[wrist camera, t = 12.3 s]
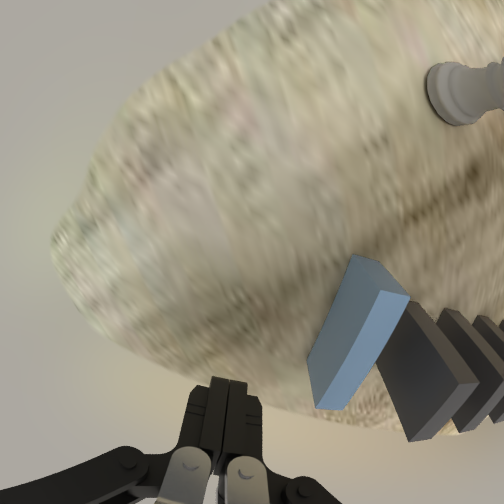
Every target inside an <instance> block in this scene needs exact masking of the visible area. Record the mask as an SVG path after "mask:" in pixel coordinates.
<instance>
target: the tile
mask: <svg viewBox="0 0 504 504" xmlns="http://www.w3.org/2000/svg"><path fill="white" fill-rule="evenodd" d="M410 298H411V297H410V296H409V294H408V293H407V292H406V291H405V290H404V289H403V288H402V286H401V285H400V284H399V283H398V282H397V281H396V280H395V279H394V277H393V276H392V275H391V274H390V273H389V272H388V271H387V270H386V269H385V268H384V266H383V265H382V264H381V263H380V262H379V261H376V260H372V259H369V258H365V257H362V256H358V255H354V254H352V257H351V260H350V262H349V265H348V268H347V270H346V273H345V275H344V278H343V280H342V283H341V285H340V287H339V290H338V292H337V295H336V297H335V299H334V302H333V304H332V306H331V309H330V311H329V313H328V316H327V318H326V320H325V322H324V324H323V327H322V329H321V331H320V333H319V335H318V338H317V340H316V342H315V344H314V346H313V348H312V350H311V352H310V354H309V356H308V358H307V365H308V371H309V376H310V382H311V387H312V393H313V399H314V404H315V408H316V409H328V410H343V409H344V407H345V406H346V405H347V403H348V402H349V401H350V399H351V398H352V396H353V395H354V393H355V392H356V390H357V389H358V388H359V386H360V385H361V383H362V382H363V380H364V379H365V377H366V376H367V374H368V372H369V371H370V369H371V368H372V366H373V365H374V363H375V361H376V360H377V358H378V356H379V355H380V353H381V351H382V350H383V348H384V346H385V345H386V343H387V341H388V339H389V338H390V336H391V334H392V332H393V330H394V329H395V327H396V325H397V323H398V321H399V319H400V317H401V316H402V314H403V312H404V310H405V308H406V306H407V304H408V302H409V300H410Z"/></svg>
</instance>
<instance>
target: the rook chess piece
mask: <svg viewBox="0 0 504 504" xmlns="http://www.w3.org/2000/svg"><path fill="white" fill-rule="evenodd" d="M427 91H428V94H429V98H430V101H431V103H432V105H433V106H434V108H435V110H436V111H437V113H438V114H439V115H440V116H441V117H442V118H443V119H444V120H445V121H446V122H448V123H450V124H453V125H455V126H460V125H467V124H473V123H475V122H476V121H477V120H478V119H479V118H480V117H481V116H482V115H483V114H484V113H485V112H487V111H490V110H494V109H498V108H500V109H502V110H503V111H504V57H503V59H502V62H501V65H500V64H498V63H495V62H491V63H490V64H488V65H487V67H484V68H469V67H468V66H466V65H462V64H460V63H457V62H445V63H438V64H437V65H435V66H434V67H432V68H431V70H430V72H429V74H428V77H427Z"/></svg>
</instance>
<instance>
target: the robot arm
mask: <svg viewBox="0 0 504 504" xmlns="http://www.w3.org/2000/svg"><path fill="white" fill-rule="evenodd" d="M247 386H248V385H247V383H246V382H240V381H235V380H230V381H229V379H224V378H220V377H215V376H212V378H211V382H210V387H204V386H200V385H197V386H196V387H195V388H194V389H193V390H192V391H191V392H190V395H189V399H188V403H187V407H186V411H185V415H184V419H183V423H182V427H181V432H180V436H179V440H178V443H177V445H176V447H175V448H174V449H173V450H171V451H170V452H167V453H164V454H143V453H142V452H141V451H140V450H138V449H136V448H134V447H130V446H121V447H118V448H115V449H113V450H111V451H109V452H107V453H104V454H102V455H100V456H98V457H95V458H93V459H91V460H88V461H86V462H84V463H81V464H79V465H76V466H74V467H71V468H68V469H66V470H63V471H61V472H58V473H55V474H52V475H49V476H46V477H44V478H41V479H38V480H34V481H31V482H28V483H25V484H21V485H18V486H15V487H11V488H7V489H3V490H0V504H135V503H137V502H139V501H141V500H143V499H145V498H157V500H156V502H155V503H154V504H203V500H204V495H205V491H206V487H207V483H208V480H209V477H210V475H211V474H212V472H213V470H214V475H218V476H219V483H218V487H217V489H216V504H342V503H341V502H339V501H338V500H337V499H336V498H335V497H334V496H333V495H331V494H330V493H329V492H328V491H327V490H326V489H325V488H324V487H323V486H322V485H321V484H319V483H318V482H317V481H316V480H315V479H313V478H310V477H306V476H300V477H296V478H294V479H290V478H287V477H284V476H281V475H279V474H276V473H274V472H272V471H271V470H270V469H268V467H267V466H266V465H265V463H264V462H263V458H262V405H261V403H260V401H259V399H258V397H257V396H251V395H247Z"/></svg>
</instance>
